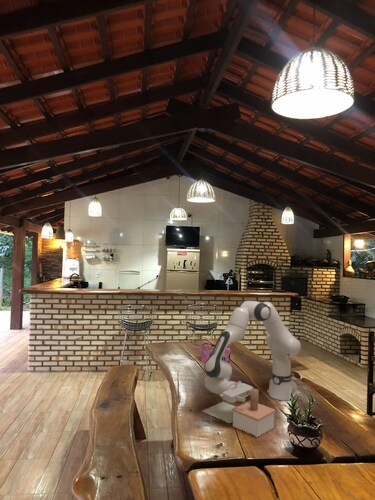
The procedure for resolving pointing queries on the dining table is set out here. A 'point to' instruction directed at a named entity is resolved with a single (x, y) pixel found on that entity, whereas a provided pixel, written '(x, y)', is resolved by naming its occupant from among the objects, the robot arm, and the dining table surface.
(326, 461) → the dining table surface
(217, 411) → the mat
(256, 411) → the lid
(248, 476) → the dining table surface
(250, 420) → the box
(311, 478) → the dining table surface
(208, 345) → the gum box
